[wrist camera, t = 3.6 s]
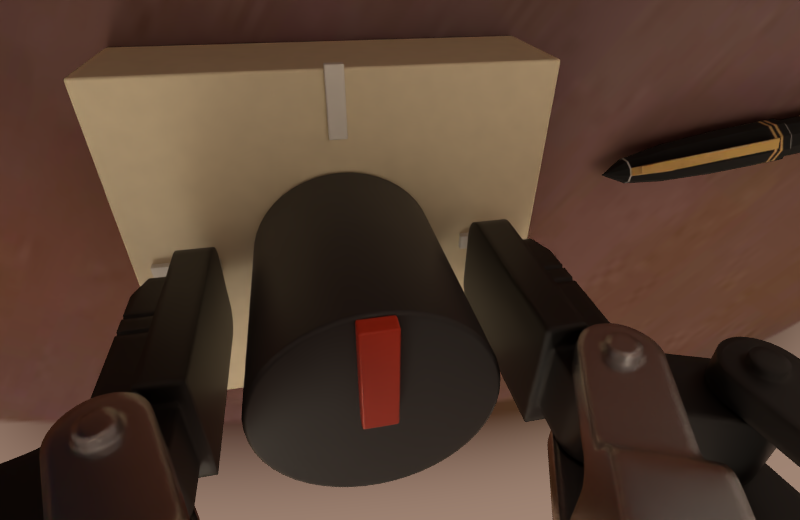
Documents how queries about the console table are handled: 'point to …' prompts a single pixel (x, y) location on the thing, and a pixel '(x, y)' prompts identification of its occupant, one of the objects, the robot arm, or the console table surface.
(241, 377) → the dial panel
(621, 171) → the fountain pen
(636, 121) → the console table surface
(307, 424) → the dial
